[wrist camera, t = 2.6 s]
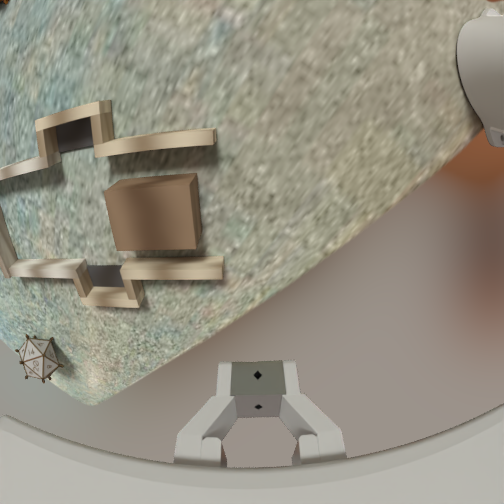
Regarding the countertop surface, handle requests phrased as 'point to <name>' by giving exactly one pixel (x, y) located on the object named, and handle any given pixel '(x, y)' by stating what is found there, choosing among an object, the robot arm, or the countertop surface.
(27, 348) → the game die
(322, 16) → the countertop surface
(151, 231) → the walnut block
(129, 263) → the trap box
